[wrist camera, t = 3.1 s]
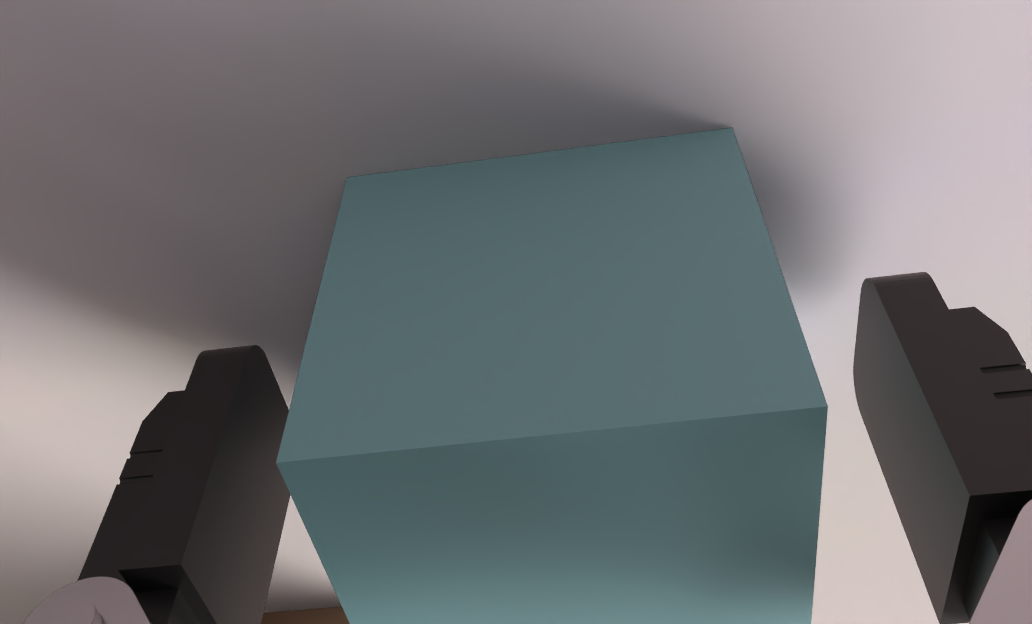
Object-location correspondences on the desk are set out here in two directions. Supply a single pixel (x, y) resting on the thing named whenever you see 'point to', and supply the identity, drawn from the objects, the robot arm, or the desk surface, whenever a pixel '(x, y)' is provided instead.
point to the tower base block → (307, 616)
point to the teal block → (560, 396)
